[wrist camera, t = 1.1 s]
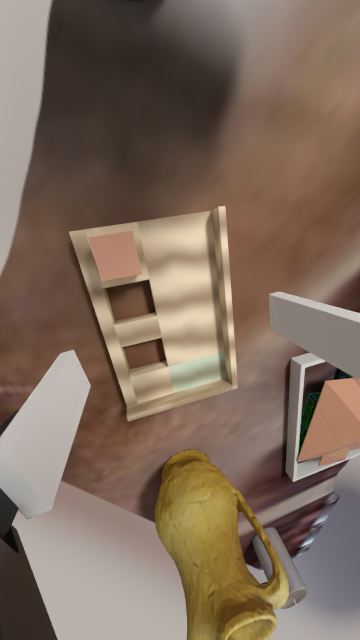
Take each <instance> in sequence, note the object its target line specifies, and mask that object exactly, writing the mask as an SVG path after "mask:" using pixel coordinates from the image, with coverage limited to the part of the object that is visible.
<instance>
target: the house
mask: <svg viewBox="0 0 360 640" xmlns="http://www.w3.org/2000/svg"><path fill="white" fill-rule="evenodd" d="M341 372H342V371H341ZM343 373H344V372H343ZM341 374H342V373H340V376H341ZM345 374H346V373H345ZM342 375H344V374H342ZM347 375H349V374H347ZM340 376H339V378H341V377H340ZM343 377H345V378H344V379H343ZM346 377H347V378H346ZM349 377H350V378H349ZM349 377H348V376H345V375H344V376H342V378H341V379H338V380H328V381H325V382H324V385H323V388H322V391H321V392H319V393H320V397H319V396H318V395H319V394H318V393H317V394H318V395H317V396H318V397H319V399H318V400H317V399H316V398H317V397H316V396H315V395H316V394H315V393H311V394H312V395H313V394H315V395H314V396H315V397H316V398H315V397H313V396H312V395H311V394H309V395H311V396H312V397H313V398H314V399H316V400H317V401H318V402H317V403H316V402H315V400H314V402H315V403H316V404H317V405H316V408H314V407H313V406H312V407H313V408H314V409H315V411H314V414H313V413H312V412H311V411H310V412H311V413H312V414H313V416H312V419H311V418H310V417H309V416H310V414H309V413H308V412H307V411H306V410H305V408H306V407H305V408H304V410H305V411H306V412H307V413H308V414H309V416H308V415H307V414H306V415H307V416H308V418H310V419H311V421H310V423H309V424H310V425H308V424H307V423H308V422H307V421H308V420H307V421H306V420H305V419H304V418H303V417H301V418H303V419H304V420H305V421H306V423H305V422H304V421H303V420H302V419H301V420H302V421H303V422H304V424H303V423H302V422H301V423H302V424H303V425H304V426H305V427H306V428H307V429H308V430H307V429H306V428H305V427H304V426H303V425H302V424H301V425H302V426H303V427H304V428H305V429H304V428H303V427H302V426H301V425H300V426H301V427H302V428H303V429H304V430H305V432H306V434H305V433H304V431H302V430H301V429H300V430H301V431H302V432H303V433H304V434H305V435H306V436H304V435H303V434H302V433H301V432H300V433H301V434H302V435H303V436H304V437H305V439H304V438H303V437H302V436H301V435H300V436H301V438H300V437H299V438H300V439H301V440H302V438H303V439H304V442H303V445H302V446H301V447H302V448H300V446H299V448H300V449H301V451H300V450H299V449H298V450H299V451H300V453H299V456H298V459H297V462H300V461H304V460H309V459H314V458H318V457H321V459H320V462H319V465H318V466H321V465H326V464H330V463H334V462H339V461H343V460H345V459H346V457H347V455H348V452H349V451H350V450H355V449H359V448H360V380H358V379H356V378H355V377H352V376H349ZM351 377H352V378H351ZM308 397H309V396H308ZM309 398H310V397H309ZM310 399H311V398H310ZM307 400H308V399H307ZM311 400H312V399H311ZM314 402H313V403H314ZM306 403H308V402H306ZM311 403H312V402H311ZM313 403H312V404H313ZM308 404H309V403H308ZM309 405H310V404H309ZM313 405H314V404H313ZM305 406H306V405H305ZM308 407H309V406H308ZM309 408H310V407H309ZM306 409H307V408H306ZM310 409H311V410H312V408H310ZM312 411H313V410H312ZM303 412H304V411H303ZM302 415H303V414H302ZM305 424H306V425H307V426H308V427H309V428H308V427H307V426H306V425H305ZM306 430H307V431H306ZM301 440H299V441H300V442H301ZM302 441H303V440H302ZM299 444H300V443H299ZM299 451H298V452H299Z"/></svg>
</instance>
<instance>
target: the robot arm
mask: <svg viewBox="0 0 360 640" xmlns="http://www.w3.org/2000/svg"><path fill="white" fill-rule="evenodd" d="M269 303H270V328H271V330H272V331H273V332H275V333H277V334H279V335H280V336H282V337H284V338H286V339H287V340H289V341H291V342H293V343H295V344H296V345H298V346H300V347H302V348H303V349H305V350H307V351H309V352H310V353H312V354H314V355H316V356H317V357H319V358H321V359H323V360H325V361H326V362H328V363H330V364H332V365H333V366H335V367H337V368H339V369H340V370H342V371H344V372H346V373H347V374H349V375H351V376H353V377H355V378H356V379H358V380H360V313H356V312H353V311H349V310H345V309H342V308H338V307H334V306H330V305H327V304H323V303H319V302H316V301H312V300H308V299H305V298H301V297H297V296H294V295H290V294H286V293H283V292H276V293H272V294H269ZM90 387H91V385H90V383H89V381H88V379H87V377H86V375H85V373H84V371H83V369H82V367H81V364H80V362H79V360H78V358H77V356H76V354H75V352H74V350H71V351H67V352H64V353H60V355H59V356H58V357H57V359H56V360H55V362H54V363H53V364H52V366H51V367H50V368H49V370H48V371H47V373H46V374H45V375H44V377H43V378H42V380H41V381H40V382H39V384H38V385H37V387H36V388H35V389H34V391H33V392H32V394H31V395H30V396H29V398H28V399H27V401H26V402H25V403H24V405H23V406H22V407H21V409H20V410H18V411H16V412H15V413H14V414H13V415H12V416H11V417H10V418H8V419H7V420H6V421H5V422H4V423H3V425H2V426H1V427H0V640H57V637H56V635H55V632H54V629H53V626H52V623H51V621H50V618H49V615H48V613H47V610H46V607H45V605H44V602H43V599H42V596H41V594H40V591H39V588H38V586H37V583H36V580H35V577H34V575H33V572H32V569H31V567H30V564H29V561H28V559H27V556H26V553H25V551H24V548H23V545H22V543H21V540H20V537H19V535H18V532H17V530H16V529H15V528H14V527H13V526H12V522H13V520H14V518H15V515H16V513H17V511H18V510H19V511H20V512H21V513H22V514H23V515H24V516H25V517H26V519H30V518H32V517H35V516H37V515H40V514H43V513H45V512H48V511H50V510H51V509H52V506H53V503H54V500H55V497H56V494H57V490H58V487H59V484H60V481H61V478H62V475H63V472H64V469H65V465H66V462H67V459H68V456H69V453H70V450H71V446H72V443H73V440H74V437H75V434H76V431H77V428H78V424H79V421H80V418H81V415H82V412H83V409H84V405H85V402H86V399H87V396H88V393H89V390H90Z"/></svg>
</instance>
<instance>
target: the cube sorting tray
mask: <svg viewBox="0 0 360 640" xmlns="http://www.w3.org/2000/svg"><path fill="white" fill-rule="evenodd" d="M127 231H133V235H134V240H135V244H136V249H137V253H138V257H139V262H140V266H141V271H142V274H138V275H133V276H128V277H123V278H117V279H112V280H107V281H102V282H101V278H100V275H99V272H98V268H97V265H96V262H95V259H94V255H93V252H92V249H91V245H90V242H89V239H88V237H95V236H101V235H108V234H114V233H121V232H127ZM69 234H70V237H71V240H72V243H73V246H74V249H75V252H76V255H77V258H78V261H79V264H80V267H81V270H82V273H83V276H84V279H85V282H86V285H87V288H88V291H89V294H90V297H91V300H92V303H93V306H94V309H95V312H96V315H97V318H98V321H99V324H100V327H101V330H102V333H103V336H104V339H105V342H106V345H107V348H108V351H109V354H110V357H111V360H112V363H113V366H114V369H115V372H116V375H117V378H118V381H119V384H120V387H121V390H122V393H123V396H124V399H125V402H126V405H127V420H128V421H132V420H135V419H138V418H141V417H145V416H148V415H151V414H154V413H158V412H161V411H164V410H168V409H171V408H174V407H177V406H181V405H184V404H187V403H190V402H194V401H197V400H200V399H204V398H207V397H210V396H213V395H217V394H220V393H223V392H226V391H230V390H233V389H236V388H238V384H237V369H236V355H235V340H234V326H233V311H232V297H231V282H230V268H229V253H228V239H227V224H226V210H225V206H222V207H217V208H216V209H214V210H212V211H206V212H200V213H193V214H186V215H179V216H173V217H166V218H159V219H152V220H146V221H139V222H132V223H125V224H118V225H112V226H105V227H98V228H91V229H85V230H78V231H71V232H69ZM148 279H149V283H150V288H151V292H152V297H153V302H154V306H155V311H156V312H152V313H147V314H143V315H138V316H134V317H129V318H125V319H120V320H116V321H115V318H114V315H113V311H112V308H111V305H110V301H109V298H108V295H107V291H106V288H108V287H113V286H118V285H123V284H128V283H133V282H138V281H143V280H148ZM158 338H162V343H163V348H164V352H165V357H166V360H164V361H161V362H157V363H153V364H149V365H146V366H142V367H138V368H134V369H130V368H129V365H128V361H127V358H126V355H125V351H124V348H123V347H126V346H130V345H134V344H138V343H142V342H146V341H150V340H154V339H158Z"/></svg>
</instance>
